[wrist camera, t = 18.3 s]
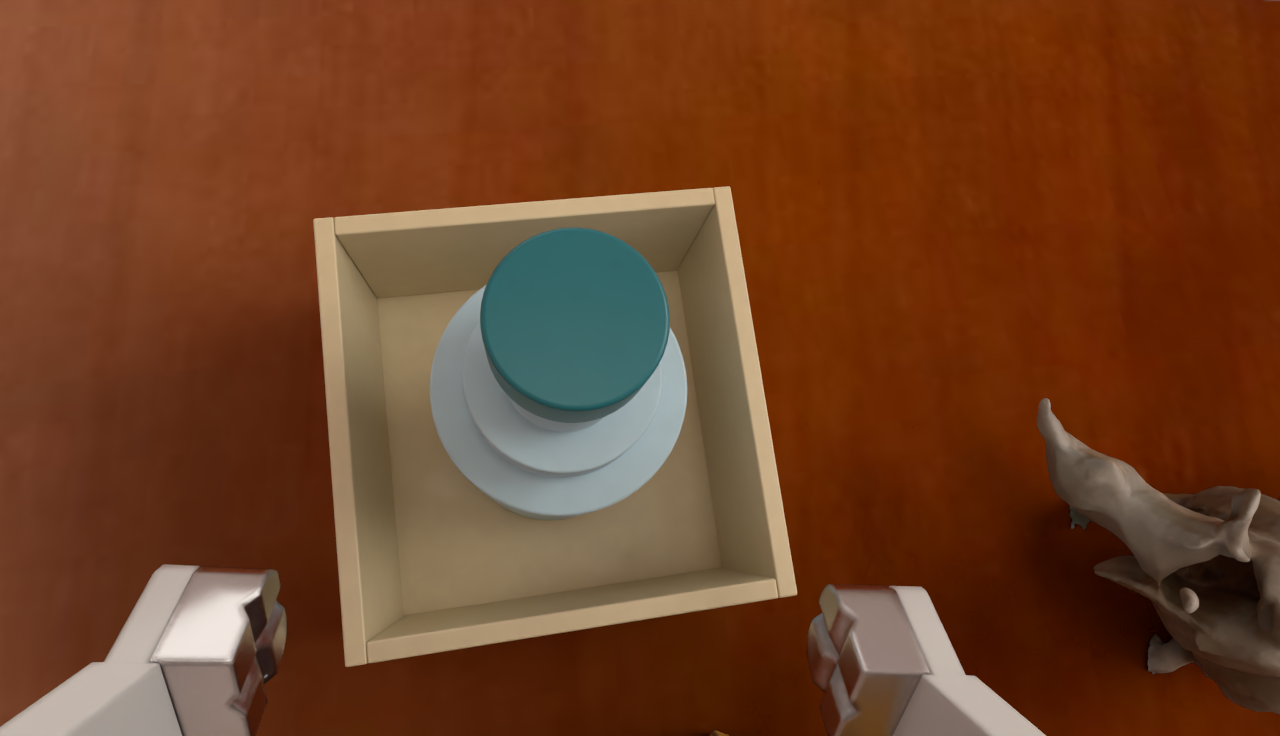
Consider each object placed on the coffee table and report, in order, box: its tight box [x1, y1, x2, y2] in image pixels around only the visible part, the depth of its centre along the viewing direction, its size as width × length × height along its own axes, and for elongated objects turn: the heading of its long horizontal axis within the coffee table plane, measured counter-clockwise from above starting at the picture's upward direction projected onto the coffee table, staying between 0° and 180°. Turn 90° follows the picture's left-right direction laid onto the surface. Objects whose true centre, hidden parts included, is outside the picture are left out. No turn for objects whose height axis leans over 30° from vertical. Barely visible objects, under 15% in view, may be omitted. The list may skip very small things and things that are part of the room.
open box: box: [313, 186, 797, 667], centre depth 24 cm, size 11×11×6 cm
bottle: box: [430, 227, 687, 520], centre depth 19 cm, size 6×6×15 cm
